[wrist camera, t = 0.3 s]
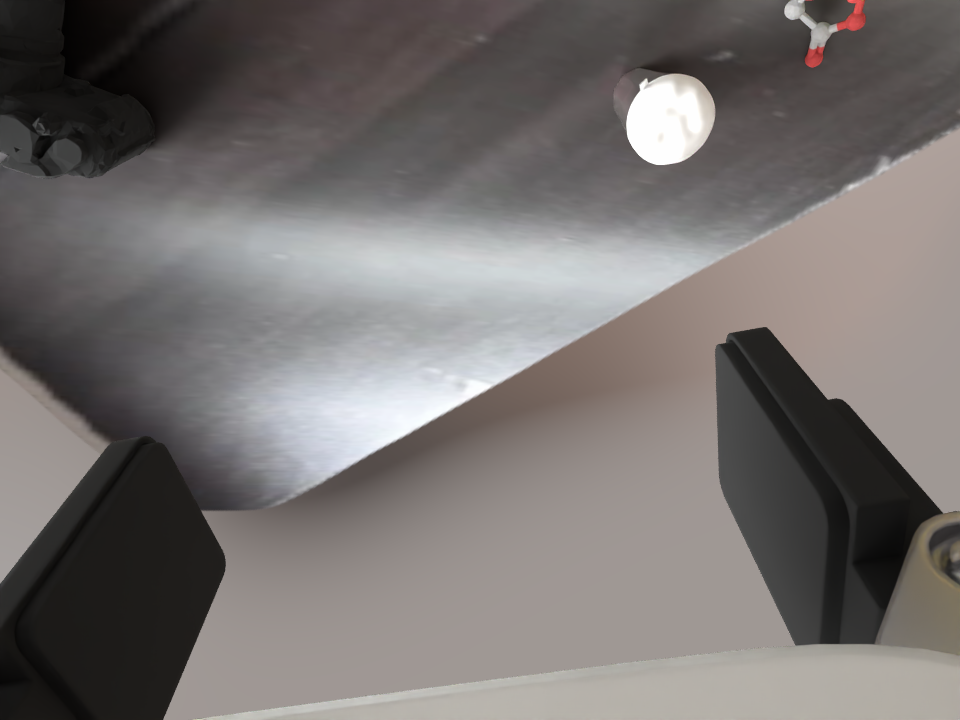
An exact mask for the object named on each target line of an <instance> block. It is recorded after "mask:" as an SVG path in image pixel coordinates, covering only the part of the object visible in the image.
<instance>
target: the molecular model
mask: <svg viewBox="0 0 960 720" xmlns="http://www.w3.org/2000/svg"><path fill="white" fill-rule="evenodd" d="M806 1H812V0H806ZM847 1H848V2H850V3H856V4H855V9H854V12H853V13H851V14H850V15H849V16H848V17H847V20H845V21H842V22H839V23H836V24H833V25H830V24H829V23H827V22H820V23H817V22H815V21H814V20H813V19H812V18H811V17H810V16H809V15H807V14H806V13H805V3H804V0H791V1H789V2H788V3H787V5H786V7H785V15H786V17H788V18H789V19H791V20H794V19H798V18H800V19H801V20H802V21H803V22H804V23H805V24H806V25H807V26H808V27H810V28H811V29H812V31H811V42H810V46H809V49H808V53H807V55H806V56H805V63H806V64H807V66H809V67H815V66H817V65H819V64H820V63H821V62H822V60H823V54H822V53H823V50H824V47H825V43H826V40H828V38H829V37H830V36H831V34H832V33H833V32H836V31H839V30H842V29H845V28H848V29H850V30H858V29H860V28H862V27H863V26H864V24H865V22H866V16H865V14H864V13H863V12H862V10H863V6H864V2H865V0H847Z"/></svg>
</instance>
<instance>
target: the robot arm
mask: <svg viewBox="0 0 960 720" xmlns="http://www.w3.org/2000/svg"><path fill="white" fill-rule="evenodd" d="M715 350H716V351H715V357H716V358H715V359H716V392H717V426H718V459H719V478H720V484H721V488H722V491H723V494H724V497H725V499H726V501H727V503H728V505H729V508H730V510H731V512H732V514H733V516H734V518H735V520H736V522H737V524H738V526H739V528H740V530H741V533H742V535H743V537H744V539H745V541H746V543H747V545H748V547H749V549H750V551H751V553H752V556H753V558H754V560H755V562H756V564H757V565H758V568H759V570H760V572H761V574H762V576H763V578H764V581H765V583H766V585H767V587H768V589H769V591H770V593H771V595H772V597H773V599H774V601H775V603H776V606H777V608H778V610H779V612H780V614H781V616H782V618H783V620H784V622H785V624H786V626H787V629H788V631H789V633H790V635H791V637H792V639H793V641H794V643H795V645H796V646H785V647H770V648H756V649H745V650H736V651H727V652H717V653H708V654H699V655H690V656H681V657H672V658H665V659H655V660H645V661H636V662H629V663H620V664H612V665H605V666H597V667H589V668H580V669H573V670H565V671H557V672H549V673H541V674H533V675H526V676H518V677H510V678H502V679H494V680H486V681H478V682H471V683H463V684H455V685H447V686H440V687H432V688H424V689H417V690H410V691H401V692H394V693H386V694H379V695H371V696H364V697H356V698H349V699H341V700H333V701H326V702H319V703H311V704H304V705H297V706H289V707H281V708H274V709H267V710H259V711H252V712H244V713H237V714H230V715H222V716H215V717H208V718H201V719H194V720H960V511H954V512H949V513H944V514H943V513H942V512H941V510H940V509H939V508H938V507H937V506H936V505H935V503H934V502H933V501H932V500H931V499H930V498H929V497H928V496H927V494H926V493H925V492H924V491H923V490H922V488H921V487H920V486H919V485H918V484H917V483H916V482H915V481H914V480H913V478H912V477H911V476H910V475H909V474H908V472H907V471H906V470H905V469H904V468H903V467H902V466H901V464H900V463H899V462H898V461H897V460H896V459H895V458H894V456H893V455H892V454H891V453H890V452H889V451H888V450H887V448H886V447H885V446H884V445H883V444H882V443H881V441H880V440H879V439H878V438H877V437H876V436H875V435H874V433H873V432H872V431H871V430H870V429H869V428H868V427H867V426H866V425H865V423H864V422H863V421H862V420H861V419H860V417H859V416H858V415H857V414H856V413H855V412H854V411H853V409H852V408H851V407H850V406H849V405H848V404H847V403H846V402H844V401H843V400H841V399H837V398H836V399H830V400H828V399H827V398H826V397H825V396H824V395H823V393H822V392H821V391H820V390H819V389H818V387H817V386H816V385H815V384H814V383H813V382H812V380H811V379H810V378H809V377H808V376H807V374H806V373H805V372H804V371H803V370H802V368H801V367H800V366H799V365H798V364H797V362H796V361H795V360H794V359H793V357H792V356H791V355H790V354H789V353H788V351H787V350H786V349H785V348H784V347H783V345H782V344H781V343H780V342H779V341H778V340H777V338H776V337H775V336H774V335H773V334H772V332H771V331H770V330H769V329H768V328H767V327H763V328H756V329H751V330H745V331H740V332H734V333H729V334H728V336H727V339H726V343H723V344H718V345H717V346H716V349H715ZM225 566H226V562H225V556H224V553H223V551H222V549H221V547H220V545H219V543H218V541H217V540H216V538H215V536H214V534H213V532H212V530H211V528H210V527H209V525H208V523H207V521H206V519H205V518H204V516H203V514H202V512H201V510H200V508H199V506H198V505H197V503H196V501H195V499H194V497H193V495H192V494H191V492H190V490H189V488H188V486H187V484H186V483H185V481H184V479H183V477H182V475H181V473H180V472H179V470H178V468H177V466H176V464H175V462H174V461H173V459H172V457H171V455H170V453H169V451H168V450H167V448H166V447H165V445H163V444H162V443H159V442H157V443H156V441H155V440H154V439H152V438H151V437H148V436H143V437H138V438H132V439H126V440H120V441H116V442H112V443H111V444H110V445H109V446H108V447H107V448H106V449H105V450H104V452H103V453H102V454H101V456H100V457H99V458H98V460H97V461H96V462H95V464H94V465H93V466H92V467H91V469H90V470H89V471H88V472H87V474H86V475H85V476H84V477H83V479H82V480H81V481H80V483H79V484H78V485H77V486H76V488H75V489H74V490H73V492H72V493H71V494H70V496H69V497H68V498H67V499H66V501H65V502H64V503H63V504H62V506H61V507H60V508H59V509H58V511H57V512H56V513H55V515H54V516H53V517H52V518H51V520H50V521H49V522H48V523H47V525H46V526H45V527H44V529H43V530H42V531H41V533H40V534H39V535H38V536H37V538H36V539H35V540H34V541H33V543H32V544H31V545H30V547H29V548H28V549H27V550H26V552H25V553H24V554H23V555H22V557H21V558H20V559H19V561H18V562H17V563H16V565H15V566H14V567H13V568H12V570H11V571H10V572H9V574H8V575H7V576H6V577H5V579H4V580H3V581H2V582H1V584H0V720H163V718H164V716H165V714H166V711H167V709H168V707H169V704H170V702H171V700H172V697H173V695H174V692H175V690H176V688H177V685H178V683H179V680H180V678H181V676H182V673H183V671H184V669H185V666H186V664H187V661H188V659H189V657H190V654H191V652H192V649H193V647H194V645H195V642H196V640H197V637H198V635H199V633H200V630H201V628H202V626H203V623H204V621H205V618H206V616H207V614H208V611H209V609H210V607H211V604H212V602H213V599H214V597H215V595H216V592H217V589H218V588H219V585H220V583H221V580H222V578H223V575H224V572H225Z"/></svg>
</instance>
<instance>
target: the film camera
mask: <svg viewBox="0 0 960 720" xmlns="http://www.w3.org/2000/svg"><path fill="white" fill-rule="evenodd" d="M64 9H65V0H0V152H1V153H4V154H6V155H8V156H7V157H6V158H5V159H4V160H3V161H2V162H1V163H0V164H1V165H2V166H4V167H6V168H8V169H11V170H13V171H16V172H19V173H24V174H28V175H30V176H33V177H39V178H43V179H50V178H57V177H59V176H62V175H65V174H69V175H72V176H78V177H83V178H93V177H97V176H102V175H103V174H105V173H106V172H107V171H109V170H111V169H113V168H114V167H116V166H118V165H120V164H121V163H123V162H125V161H127V160H129V159H131V158H133V157H134V156H137V155H140V154H141V153H143V152H144V151H145V150H146V149H147V148H148V147H149V146H150V144H151V142H154V141H155V137H154V130H155V126H154V123H153V121H152V119H151V115H150V114H149V113H148V111H147V110H146V109H145V108H144V107H143V106H142V105H141V104H140V103H139V102H138V100H136V99H135V98H133V97H132V96H130V95H128V94H124V95H122V97H121V96H118V95H115V94H113V93H110V92H107V91H104V90H102V89H99V88H96V87H94V86H91V85H90V84H89V82H88V81H84V80H81V79H73V78H71V77H69V76H67V75H65V74H64V67H65V57H64V56H62V55H61V54H60V52H61V51H62V50H63V45H64V36H63V34H62V32H61V29H62V24H63V17H64Z"/></svg>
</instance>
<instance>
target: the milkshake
mask: <svg viewBox="0 0 960 720" xmlns="http://www.w3.org/2000/svg"><path fill="white" fill-rule="evenodd" d="M613 105H614V110H615V112H616V114H617V115H618V117H619V119H620V121H621V123H622V125H623V127H624V129H625V131H626V133H627V136H628V138H629V141H630V143H631V145H632V147H633V148H634V150H635V151H636V152H637V153H638V154H639V155H640V156H641V157H642V158H643V159H645V160H647V161H648V162H651V163H653V164H657V165H666V164H672V163H677V162H681V161H683V160H685V159H687V158H689V157H690V156H691V155H693V154H694V153H695V152H696V151H697V150H698V149H699V148H700V147H701V146H702V145H703V144H704V142H705V141H706V140H707V138H708V136H709V134H710V132H711V129H712V126H713V123H714V119H715V105H714V101H713V99H712V96H711V95H710V93H709V91H708V90H707V88H706V87H705V86H704V85H703V83H701V82H700V81H699V80H698V79H696V78H694V77H691V76H688V75H683V74H675V73H664V72H658V71H653V70H648V69H643V68H636V69H634V70H632V71H630V72H628V73H626V74H624V75H622V77H621V78H620V80H619V82H618V83H617V85H616V87H615V88H614V90H613Z"/></svg>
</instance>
